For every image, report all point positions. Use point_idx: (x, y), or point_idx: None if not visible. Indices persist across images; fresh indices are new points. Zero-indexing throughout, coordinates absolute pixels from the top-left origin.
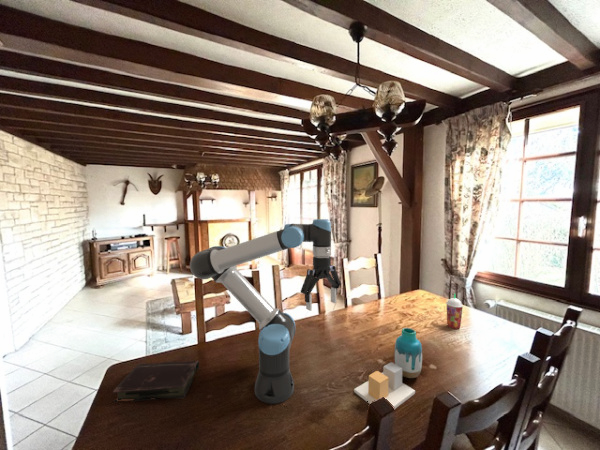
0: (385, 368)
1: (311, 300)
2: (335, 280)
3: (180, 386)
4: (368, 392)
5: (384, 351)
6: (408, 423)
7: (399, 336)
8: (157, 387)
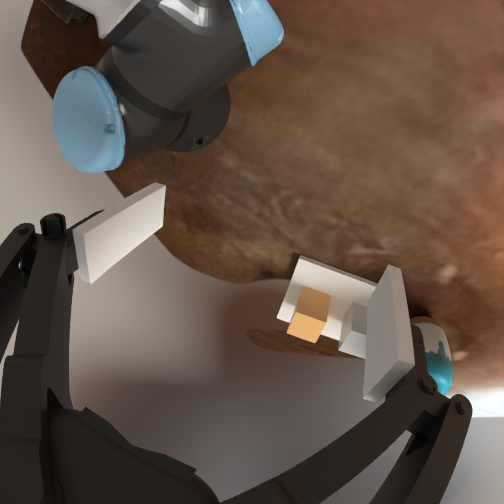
0: (349, 332)
1: (119, 258)
2: (414, 456)
3: (64, 20)
4: (303, 287)
5: (491, 270)
6: (286, 340)
7: (437, 377)
8: (51, 7)
